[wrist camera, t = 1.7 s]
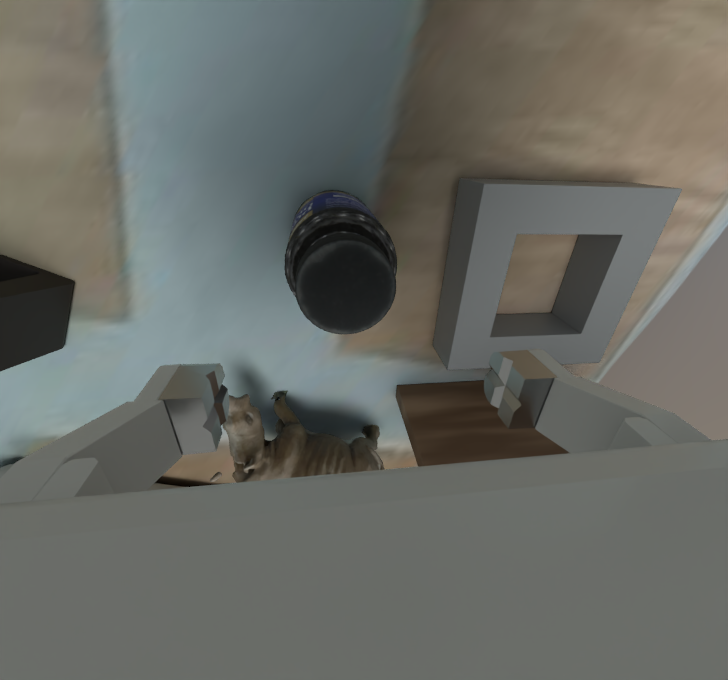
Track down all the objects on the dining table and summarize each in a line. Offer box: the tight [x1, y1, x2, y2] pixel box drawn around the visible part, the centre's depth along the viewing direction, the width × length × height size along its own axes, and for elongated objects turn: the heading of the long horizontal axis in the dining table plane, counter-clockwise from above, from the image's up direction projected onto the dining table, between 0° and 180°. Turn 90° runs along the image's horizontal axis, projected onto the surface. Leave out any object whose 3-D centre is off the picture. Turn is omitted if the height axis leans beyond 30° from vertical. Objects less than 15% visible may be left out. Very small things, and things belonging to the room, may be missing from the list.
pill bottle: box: [285, 190, 397, 334], centre depth 20 cm, size 6×6×11 cm
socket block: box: [433, 178, 682, 370], centre depth 26 cm, size 14×14×4 cm
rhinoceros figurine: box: [210, 391, 384, 483], centre depth 30 cm, size 8×14×15 cm
